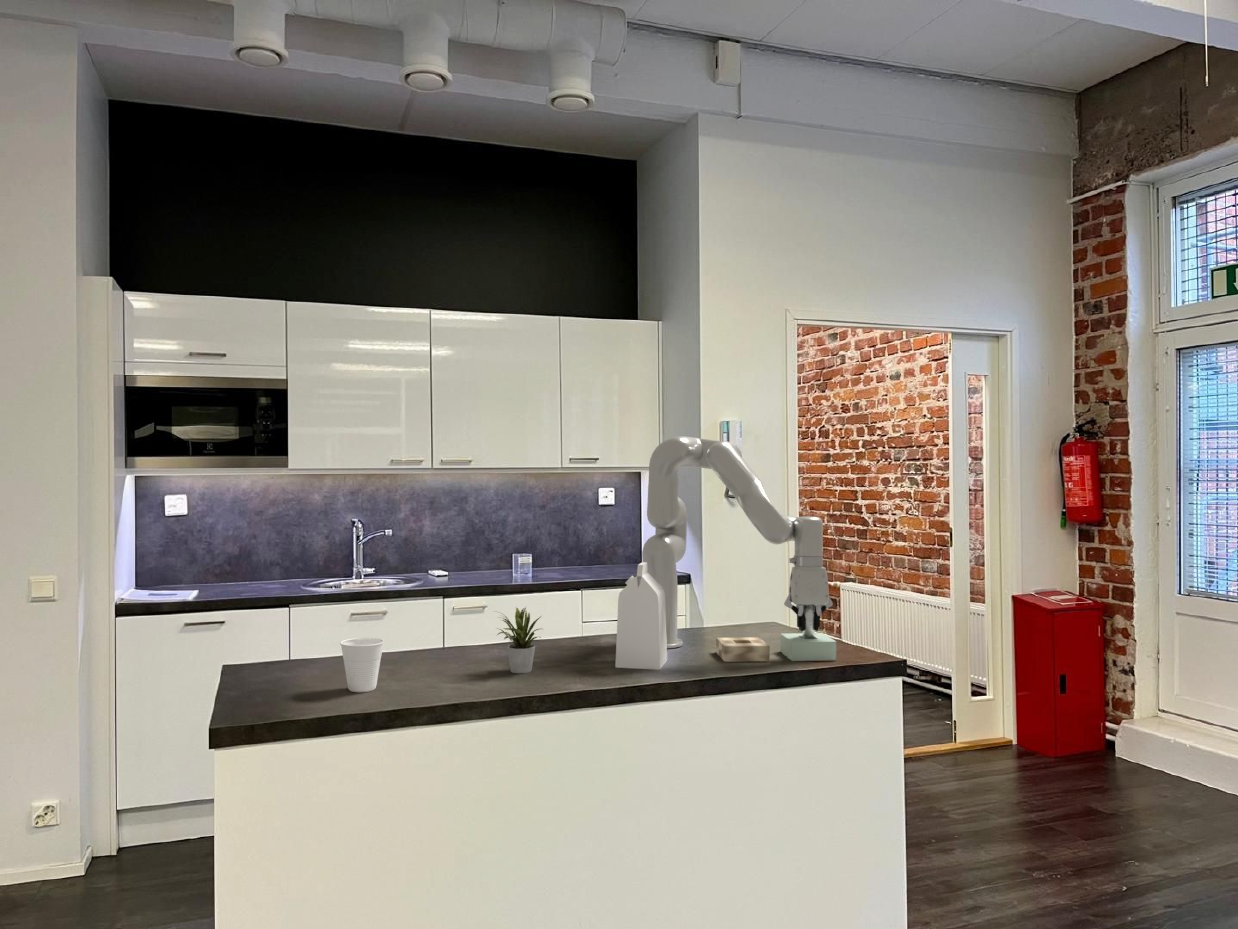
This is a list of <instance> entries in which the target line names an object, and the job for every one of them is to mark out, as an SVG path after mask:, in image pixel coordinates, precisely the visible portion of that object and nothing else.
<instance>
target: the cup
mask: <svg viewBox="0 0 1238 929" xmlns="http://www.w3.org/2000/svg"><path fill="white" fill-rule="evenodd" d="M385 642H386V641H385V640H384V639H382V638H379V637H378V638H377V637H354V638H347V639H344V640H341V641H340V642H339V644H340V646H341V652H342V658H343V659H342V660H343V664H344V671H345V677H346V683H347V688H348V690H349V691H350V692H352V693H368V692H372V691H374V690H375V689H376V688H377V684H378V677H379V671H380V665H381V658H382V654H383V649H384V648H383V647H384V644H385Z"/></svg>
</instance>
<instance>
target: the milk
mask: <svg viewBox="0 0 1238 929" xmlns="http://www.w3.org/2000/svg"><path fill="white" fill-rule="evenodd" d="M625 584H626V586H625V587H624V588H622V590H620V592H619V594H618V599H617V621H616V622H617V623H616V624H617V625H616V643H615V644H616V647H615V666H614V667H615V668H619V669H620V668H622V669H635V670H636V669H637V670H638V669H639V670H640V669H641V670H654V671H655V670H658V671H660V670H661V669H662V668H663V666H664V665H665V664H666V662H667V661H668V648H667V640H666V613H665V592H664V589H663V588H662V587H661V585H660V584H659V583H658V582H657V581H656V580H655V579H654V578H653V577H652V576H651V575H650V574H648V573H647V562H643V561H642V562H640V563H639V564H637V570H636V576H634V575H631V576H629V578H628V579H627V580H626V581H625Z"/></svg>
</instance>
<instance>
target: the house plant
mask: <svg viewBox="0 0 1238 929" xmlns="http://www.w3.org/2000/svg"><path fill="white" fill-rule="evenodd" d="M526 608H527V606H525V607H523V608H522V609H519V608H518V607H515V615H514V617H515V625H516V628H515V627H514V625H513V624H512V622H511V621H510V620H509V618H508V617H507V616H506V615H505V614H504V613H502V612H500V611H498V613H499V614H502V616H501V615H499V616H498V618H499V619H502V621H503V622H504V623H505V624H507V625H506V626H508V627H506V628H502V629H501V628H497V627H496V628H495V629H497V630H500V632H498V633H497V634H496V636H498V635H500V634H503V635H505V636H504V639H503V640H506V639H509V641H510V642H512V643H511V644H508V645H507V646H506V650H507V656H508V663H509V669H510V672H511V673H513V674H528V673H531V672H532V668H533V662H534V656H535V651H536V645H535V644H532V642H533V641H534V640H535V639H537V638H538V636H534V635H535V632H536V631H539V630H540V628H536V629H534V630H533V628H534V626H535V624H536V623H537V621H539V619H541V618H542V615H540V616H539V617H538V618H537V619H535V620H534V621H533V622H532V623H531V625H530V621H531V613H530V612H528V611H527V609H526ZM520 610H521V611H520ZM494 612H496V613H497V610H496V611H495V610H494ZM529 625H530V626H529ZM504 630H507V631H504ZM532 630H533V631H532ZM542 630H544V629H543V628H542ZM508 631H511V633H512V634H513V635H512V634H510V633H509V632H508ZM531 631H532V632H531ZM539 638H540V639H542V638H541V636H539Z"/></svg>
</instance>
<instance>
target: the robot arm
mask: <svg viewBox="0 0 1238 929" xmlns="http://www.w3.org/2000/svg"><path fill="white" fill-rule="evenodd" d="M680 467H694V468H700V469H701V468H702V469H709V470H712V471H713V472H714V473H715V475H716V476H717V478H719V479H720V481H721V482H722V483H723V485H725V487H726V488H727V489H728V490H729V492H730V493H731V494H732V496H733V497H734V499H735V500H736V501H737V503H738V506H740V508H741V509H742V511H743V512H744V514H745V516H746V517H747V519H748V520H749V521H750V522H751V524H752V525H753V526H754V527H755V529H756V530H757V531H758V533H759V534H760V535H761V536H762V537H763V538H764V539H765V540H766V541H767V542H769V544H773V545H781V544H782V545H783V544H784V543H786V542H787V543H788V542H794V554H793V557H790V558H789V560H788V561H789V562H788V563H789V564H793V566H792V567H791V572H790V577H789V585H788V586H789V588H788V595H787V597H786V599H785V601H784V602H783V605H784V606H785V607H787V608H789V609H790V610H792V611H793V613H794V614H796V627H797V628H798V630H799V631H801V632H802V631H804V616H803V606H804V605H815V631H816V632H818V631H819V628H820V627H821V616H822V614H823V613H824V612H825V611H826V610H827V609H828V608H831V607H832V606H833V601H832V599H831V597H830V590H829V578H828V571H827V568H826V567H824V565H823V564H824V562H823V560H824V559H823V558H824V557H823V556H824V554H823V552H824V548H823V547H824V546H823V544H824V543H823V542H824V541H823V540H824V534H823V532H824V524H823V523H824V522H823V520H822V518H821V517H818V516H809V515H808V516H794V515H792V516H791V515H788V514H787V515H785V514H780V512H779V511H778V510H777V509H776V507H775V506H774V504H772V502H771V501H770V500H769V498H768V496H767V495H766V493H765V490H764V486H763V483H762V481H761V478H759V475H757V474H756V473H755V471H754V470H753V469H752V468H751V467H750V465H748V463H747V461H746V460H745V459H744V458H743V455H742V451H741V449H740V448H739V446H738V445H737V444H735V443H734V442H731V441H727V440H726V441H725V440H724V441H722V440H714V439H706V438H699V437H693V436H692V437H691V436H685V435H684V436H681V435H680V436H679V435H678V436H673V437H670V438H668V439H665V440H664V441H663V442H661V443H659V444H658V445H657V446H656V447H655V448H654V450H653V452H652V453H651V456H650V460H649V465H648V483H647V484H648V486H647V504H646V507H647V508H646V509H647V510H646V517H647V520H648V523H649V524H650V525H651V526H652V527H653V528H655V534H654V535H652V536H650V537H649V538H648V539H647V540H646V541H645V543H644V544H643V548H642V553H641V555H642V556H641V558H642V562H647V573H648V574H650V575H651V576H652V577H653V578H654V579H655V580H656V581H657V582H658V583H659V584H660V585H661V587H662V588H663V589H664V592H665V613H666V640H667V649H675V648H679V647H681V646H683V643H684V642H683V639H681V638H678V591H679V590H678V572H677V571H678V570H677V564H678V562H680V561H681V560H682V559H683V557H684V556H685V554H686V550H687V535H688V534H687V531H688V528H687V527H688V510H687V508H686V504H685V502H684V501H683V500H682V498H680V497H679V496H678V495H679V493H678V492H679V477H678V476H679V475H678V470H679V468H680ZM676 563H677V564H676ZM792 603H793V604H792Z"/></svg>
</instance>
